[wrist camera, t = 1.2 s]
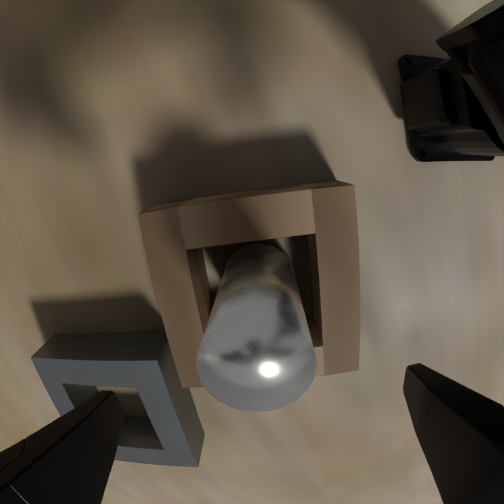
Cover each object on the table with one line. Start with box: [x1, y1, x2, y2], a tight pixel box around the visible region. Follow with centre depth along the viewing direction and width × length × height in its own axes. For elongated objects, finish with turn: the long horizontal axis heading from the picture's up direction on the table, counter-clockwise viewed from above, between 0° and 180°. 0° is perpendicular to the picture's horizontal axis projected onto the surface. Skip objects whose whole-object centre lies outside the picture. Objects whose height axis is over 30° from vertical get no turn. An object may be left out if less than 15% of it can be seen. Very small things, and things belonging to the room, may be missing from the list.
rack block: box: [31, 331, 205, 467], centre depth 20 cm, size 10×10×4 cm
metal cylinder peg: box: [196, 243, 317, 412], centre depth 15 cm, size 4×4×9 cm
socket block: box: [138, 180, 360, 388], centre depth 17 cm, size 10×10×4 cm
